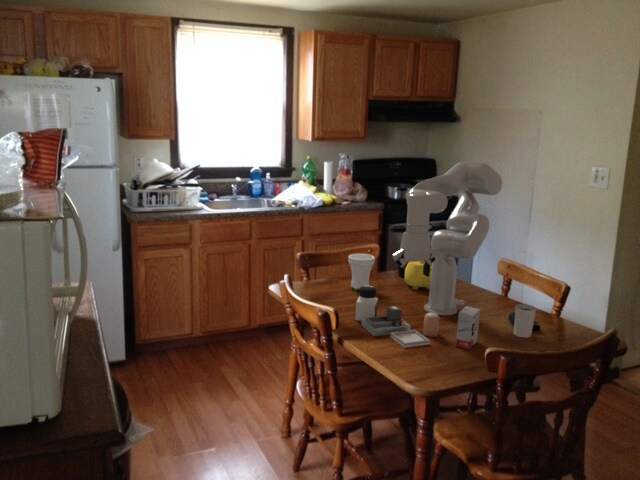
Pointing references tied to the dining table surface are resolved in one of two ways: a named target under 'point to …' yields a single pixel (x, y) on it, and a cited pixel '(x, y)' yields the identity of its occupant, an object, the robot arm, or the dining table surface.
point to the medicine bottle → (366, 303)
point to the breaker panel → (384, 325)
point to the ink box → (467, 327)
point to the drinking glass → (524, 320)
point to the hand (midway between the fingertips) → (413, 276)
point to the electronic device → (512, 320)
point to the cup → (360, 269)
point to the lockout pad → (409, 338)
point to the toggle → (394, 313)
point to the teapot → (417, 275)
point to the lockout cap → (431, 325)
